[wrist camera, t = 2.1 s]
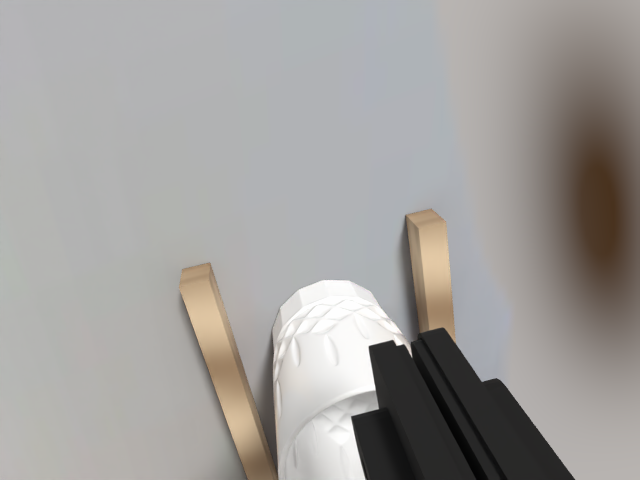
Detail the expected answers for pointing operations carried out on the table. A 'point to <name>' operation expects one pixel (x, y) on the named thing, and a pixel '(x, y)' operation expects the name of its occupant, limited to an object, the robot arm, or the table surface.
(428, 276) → the guide channel
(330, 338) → the white cup
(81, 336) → the table surface
